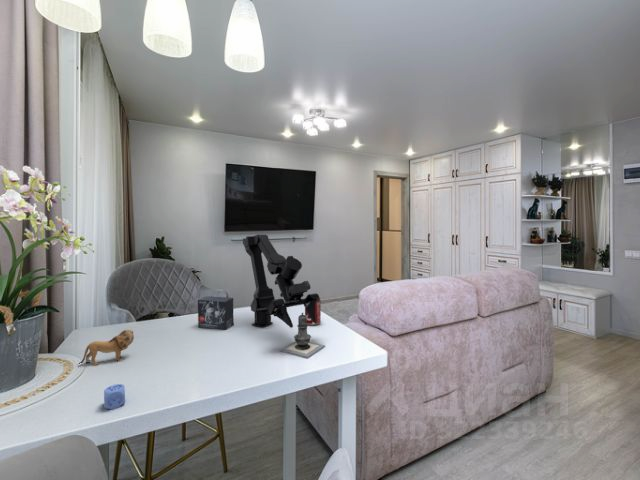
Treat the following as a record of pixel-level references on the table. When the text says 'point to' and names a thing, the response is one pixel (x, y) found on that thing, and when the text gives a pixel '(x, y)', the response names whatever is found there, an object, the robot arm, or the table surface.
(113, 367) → the table surface
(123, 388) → the decorative dice
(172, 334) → the table surface
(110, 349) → the lion figurine
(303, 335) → the chess piece
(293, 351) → the card
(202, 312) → the small box
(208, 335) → the table surface
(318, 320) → the soda can
